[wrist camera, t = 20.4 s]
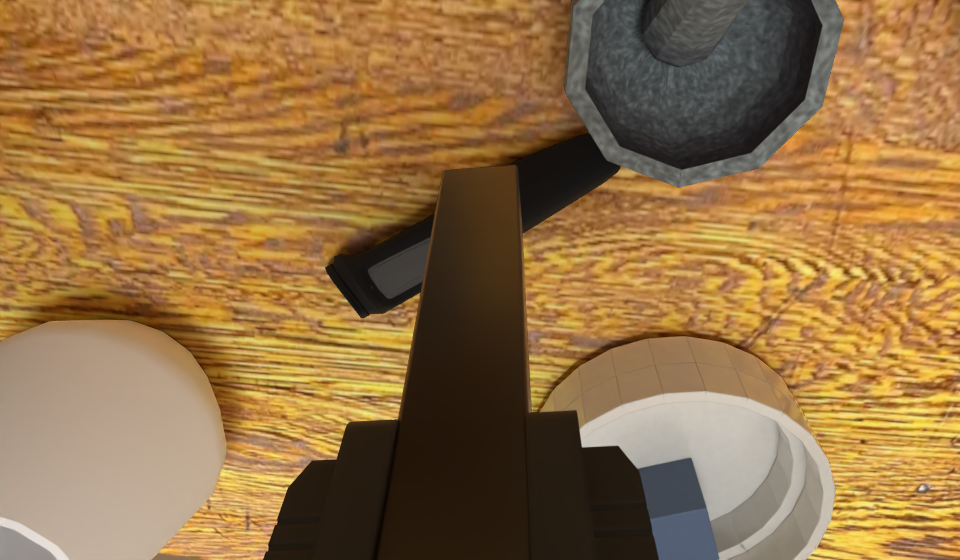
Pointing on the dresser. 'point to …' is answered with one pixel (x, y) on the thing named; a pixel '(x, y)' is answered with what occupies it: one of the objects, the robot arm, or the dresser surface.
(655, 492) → the block
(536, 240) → the dresser surface
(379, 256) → the electric trimmer
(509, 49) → the dresser surface
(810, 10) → the mortar and pestle
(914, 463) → the dresser surface
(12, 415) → the cup
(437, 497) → the stick
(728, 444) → the bowl
